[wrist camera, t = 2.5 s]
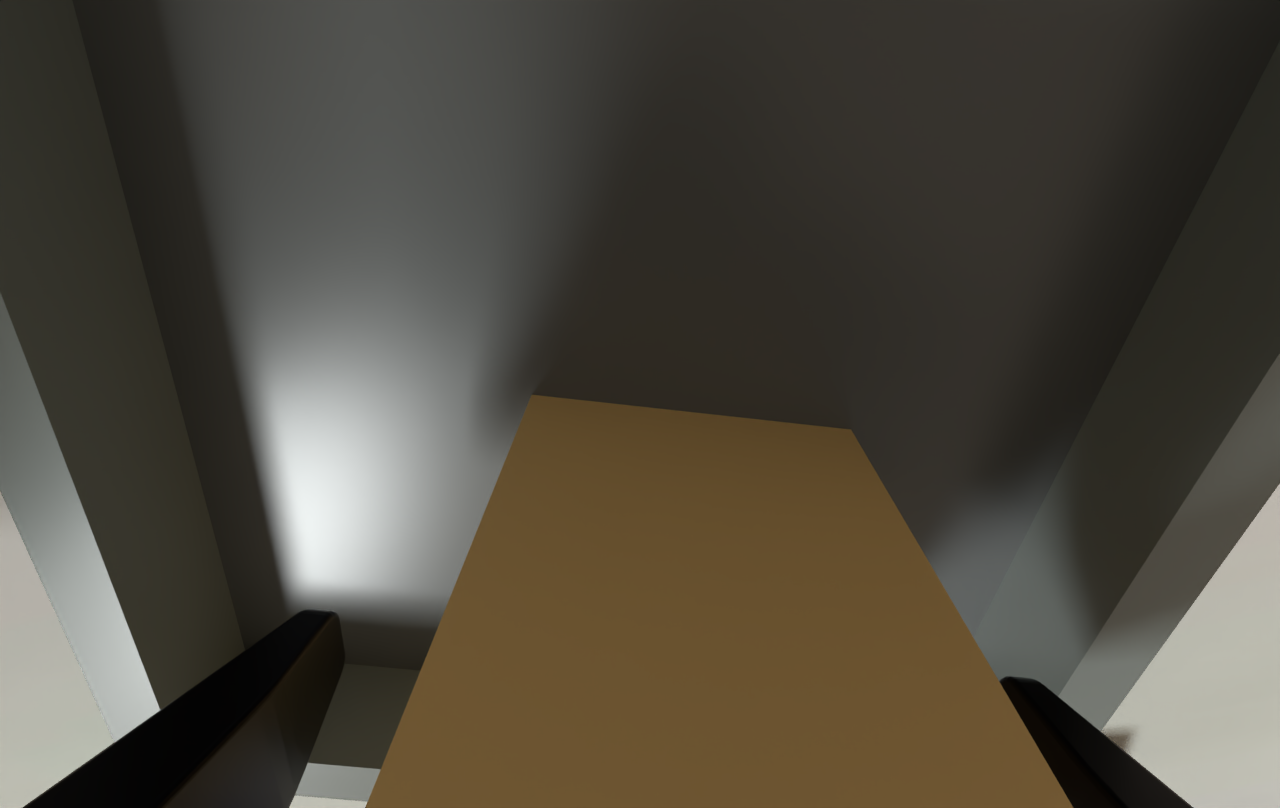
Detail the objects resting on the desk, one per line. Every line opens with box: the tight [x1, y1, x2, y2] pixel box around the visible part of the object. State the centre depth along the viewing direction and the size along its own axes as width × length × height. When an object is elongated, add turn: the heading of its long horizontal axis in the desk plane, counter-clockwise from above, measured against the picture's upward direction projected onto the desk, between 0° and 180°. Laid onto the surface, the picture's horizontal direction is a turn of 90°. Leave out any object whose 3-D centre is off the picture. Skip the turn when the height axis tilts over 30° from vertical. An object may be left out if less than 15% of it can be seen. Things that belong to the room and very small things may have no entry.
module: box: [365, 395, 1073, 808], centre depth 7 cm, size 5×5×8 cm
